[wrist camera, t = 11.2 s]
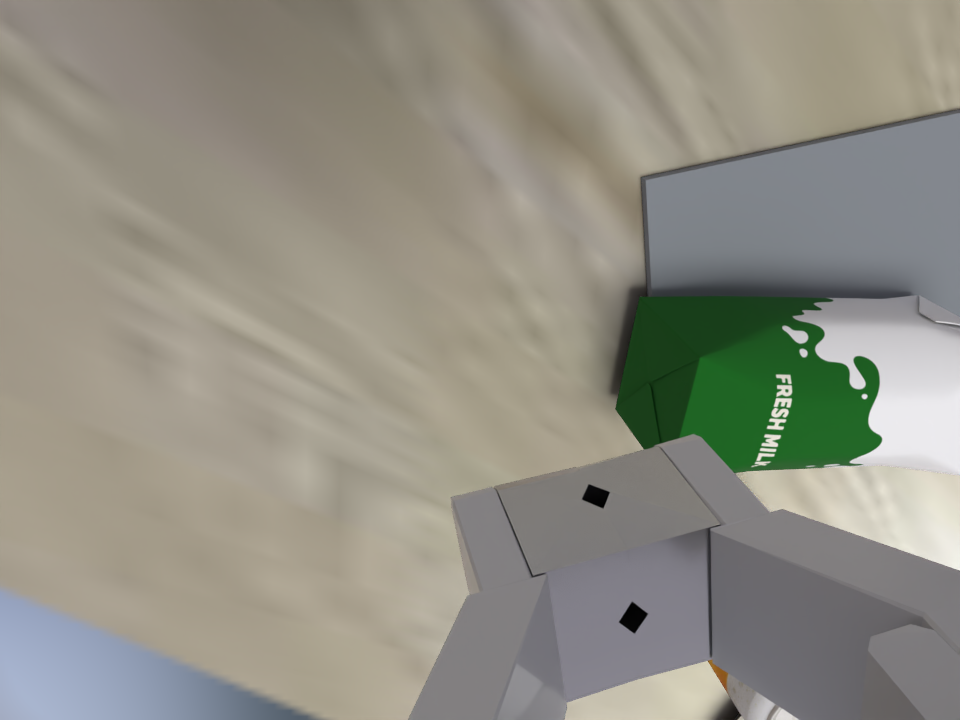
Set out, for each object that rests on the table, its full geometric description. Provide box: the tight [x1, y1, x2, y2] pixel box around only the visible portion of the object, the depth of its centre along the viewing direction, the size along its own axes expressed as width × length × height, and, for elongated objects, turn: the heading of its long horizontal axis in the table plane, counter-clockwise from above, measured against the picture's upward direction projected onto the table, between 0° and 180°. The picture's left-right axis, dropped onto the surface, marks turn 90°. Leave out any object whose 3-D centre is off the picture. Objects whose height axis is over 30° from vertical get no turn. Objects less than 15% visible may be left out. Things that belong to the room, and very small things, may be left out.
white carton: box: [615, 295, 960, 476], centre depth 43 cm, size 9×9×20 cm
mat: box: [641, 109, 960, 317], centre depth 46 cm, size 16×22×1 cm
